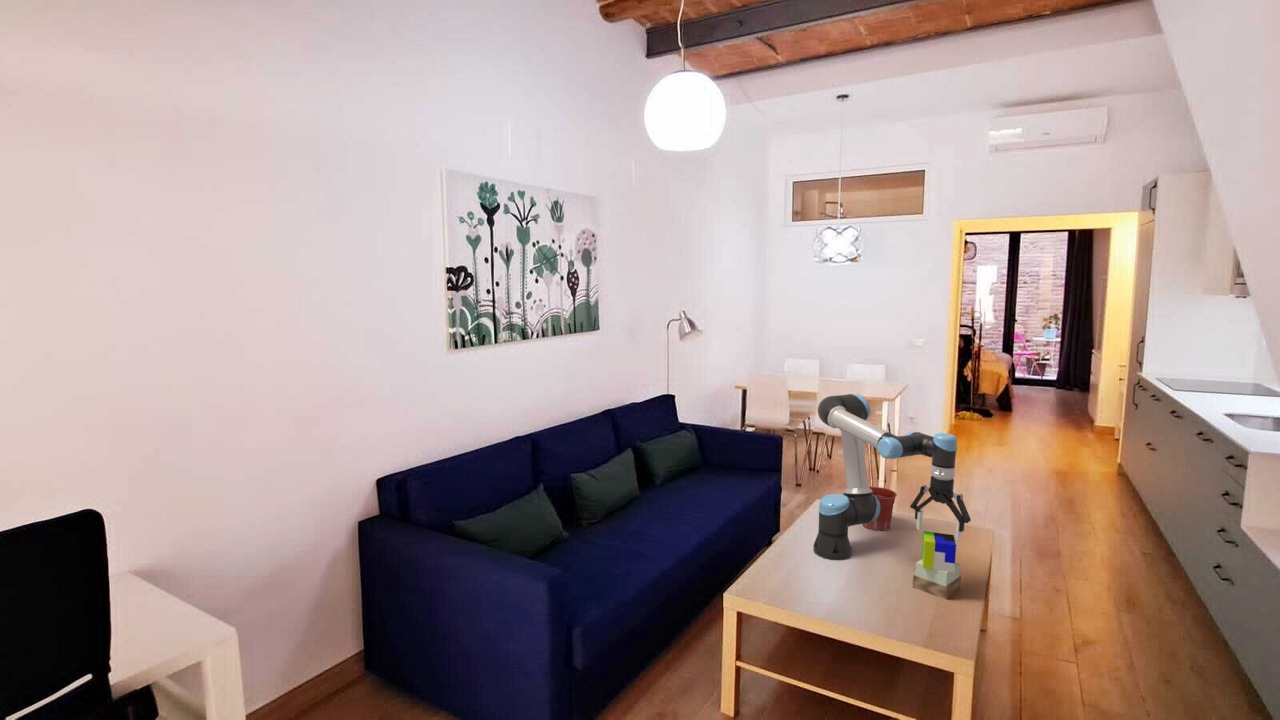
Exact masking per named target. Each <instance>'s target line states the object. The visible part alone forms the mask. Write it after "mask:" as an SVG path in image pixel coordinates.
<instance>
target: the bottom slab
mask: <svg viewBox="0 0 1280 720" xmlns="http://www.w3.org/2000/svg"><path fill="white" fill-rule="evenodd" d="M961 578H962V577H961V576H960V575H959V578H957V579H956V580H954V581H953V582H952V583H950V584H949V585H947V586H943V585H940V584H937V583H934V582H932V581H929V580H926V579H923V578H920V577H918V576H915V574H914V575H913V577H912V588H913V589H915V590H919V591H920V592H924V593H927V594H929V595H932V596H935V597H938V598H940V599H943V600H948V599H949V598H950V597H951V596H954V594H955V593H957V592H958V591H959V590H960V589H961Z"/></svg>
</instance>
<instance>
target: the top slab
mask: <svg viewBox="0 0 1280 720" xmlns="http://www.w3.org/2000/svg"><path fill="white" fill-rule="evenodd" d="M960 567H961V564H960V563H958V562H955V570H954V573H953V572H947V571H941V570H934V569H927V568H923V561H922V558H921V559H920V560H918V561H916V562H915V572H914V575H915V576H918V577H920V578H923V579H926V580H929V581H932V582H934V583H937V584H940V585H943V586H947V585H949V584H950V583H952V582H953V581H954V580H956V579H957V578H959V576H960V570H961V568H960Z"/></svg>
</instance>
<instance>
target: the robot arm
mask: <svg viewBox="0 0 1280 720" xmlns="http://www.w3.org/2000/svg"><path fill="white" fill-rule="evenodd" d="M817 414H818V418H819V419H820V420H821V422H822V423H823V424H824V425H826V426H827V427H830V428H832V429H838V430H840V433H841V435H840V436H841V443H842V445H841V446H842V453H843V464H844V466H843V467H844V474H845V475H844V476H845V484H846V488H845V489H844V490H843V491H842V492H843V494H841V493H836V494H834V493H831V494H827V495H824V496H823V497H822V498H821V499H820V501H819V506H818V529H817V530H818V531H817V532H818V533H817V535H816V538H815V541H814V542H813V553H814V554H815V555H817V556H819V557H820V558H821V557H822V558H823V559H826V560H827V559H828V560H834V561H835V560H836V561H837V560H838V561H839V560H840V561H842V560H846V559H850V558H851V557H852V553H853V552H852V551H853V550H852V546H851V542H850V538H849V535H848V534H849V527H853V526H858V525H863V524H866V523H869V522H872V521H874V520H876V518H877V517H878V516H879V514H880V503H879V500H877V497H876V496H875V495H873V492H872V490H871V489H870V488H869V487H870V486H869V482H868V473H867V464H866V463H867V462H866V456H865V455H866V453H865V444H864V443H866V444H867V445H869V446H871V447H873V448H875V449H876V450H877V452H878V454H880V456H881V458H883V459H886V460H887V459H888V460H890V459H891V460H896V459H899V458H905V457H913V456H920V455H921V456H925V457H929V458H931V470H930V475H931V476H930V482H929V483H930V484H929V486H930V487H928V486H927V485H926V484H924V485H922V486H920V489H919V492H918V494H917V495H916V497H915V498H914V499H913V501H912V502H911V504H910V505H909V507H910V508H911V509H913V510H914V511H915V512H914V519H915V520H916V530H920V529H922V526H923V516H924V515H923V514H924V511H923V510H921V509H923V508H924V507H925V506H927V505H928V504H929V503H931V502H932V501H934V502H935V503H941V504H943V505H944V504H946V506H947V507H948V508H949V509H950V511H951V513H952V514H953V516H955V518H956V520H957V522H956V524H955V525H956V526H955V527H956V529H955V537H954V539H955V542H956V541H959V540H961V535H962V533H963V532H964V531H965V524H968V523H970V522H971V521H972V519H971V517H970V515H969V512H968V509H967V507H966V504H965V501H964V498H963V497H964V496H963V494H962V493H959V494H957V493H954V484H955V479H954V478H955V473H956V471H955V469H956V457H957V450H958V446H957V445H958V439H957V437H956V436H955V435H953V434H950V433H944V432H939V433H935V434H934V436H932V435H929V434H925V433H923V432H920V431H913V430H911V431H909V432H907V433H906V434H905V435H899V436H897V435H895V434H893V433H892V432H889V431H887V430H885V429H883V428H881V427H879V426H877V425H875V424H872V422H869V421H867V420H868V418H869V416H870V414H871V406H870V404H869V402H868V401H867V399H866V398H865V397H864V396H863V395H861V394H856V393H855V394H854V393H848V394H839V395H830V396H827V397H825V398H823V399H822V400H821V401H820V402H819V404H818V407H817ZM928 492H929V495H930V496H929V497H927V498H926V499H925V500H924V501H922V503H920V501H921V500H922V499H923V497H924V495H925V494H926V493H928ZM953 498H954V500H955V501H956V503H957V505H956V504H955V501H954V500H953ZM919 503H920V504H919ZM918 504H919V505H918Z"/></svg>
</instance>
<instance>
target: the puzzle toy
mask: <svg viewBox="0 0 1280 720" xmlns="http://www.w3.org/2000/svg"><path fill="white" fill-rule="evenodd" d="M922 535H923V536H922V551H921V559H922V561H923V568H927V569H934V570H941V571H947V572H953V573H954V570H955V563H956V553H957V551H956V550H957V543H956V540H955V535H954V534H948V533H942V532H941V533H940V532H933V531H929V530H928V531H926V530H923V534H922Z"/></svg>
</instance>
